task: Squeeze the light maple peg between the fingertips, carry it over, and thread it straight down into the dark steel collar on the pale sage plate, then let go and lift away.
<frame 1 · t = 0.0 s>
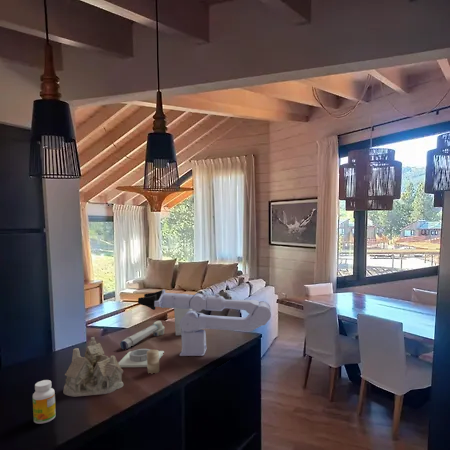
hand: (141, 298, 148), 22 cm above the kitchen island, tool horizontal, fingers open, 7 cm apart
supplement box: (184, 333, 174), on the kitchen island
supplement bottle: (44, 419, 101), on the kitchen island
white handheld device: (144, 341, 165), on the kitchen island
maple peg: (153, 371, 130), on the kitchen island
collar plate: (141, 359, 142), on the kitchen island
ceramic cottage: (93, 388, 119), on the kitchen island
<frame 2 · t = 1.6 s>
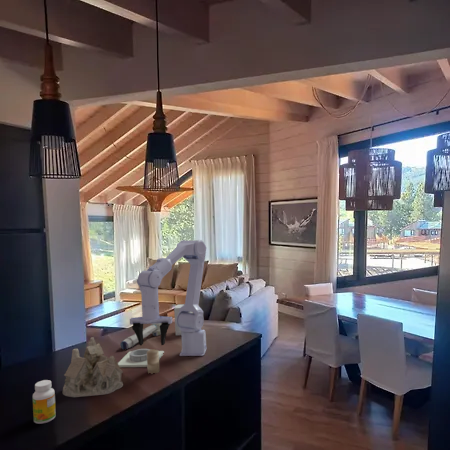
hand: (152, 344, 130), 9 cm above the kitchen island, tool pointing down, fingers open, 7 cm apart
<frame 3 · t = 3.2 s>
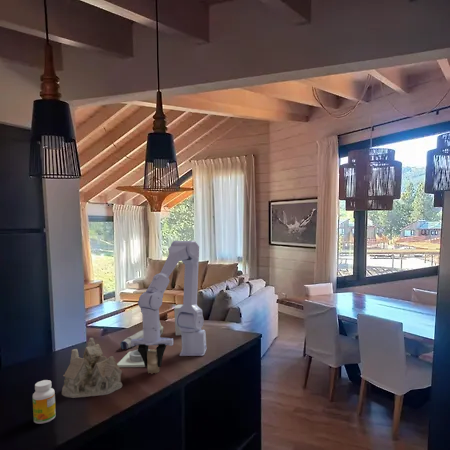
hand: (153, 365, 130), 2 cm above the kitchen island, tool pointing down, fingers closed on maple peg, 4 cm apart
maple peg: (153, 371, 130), on the kitchen island, touching gripper
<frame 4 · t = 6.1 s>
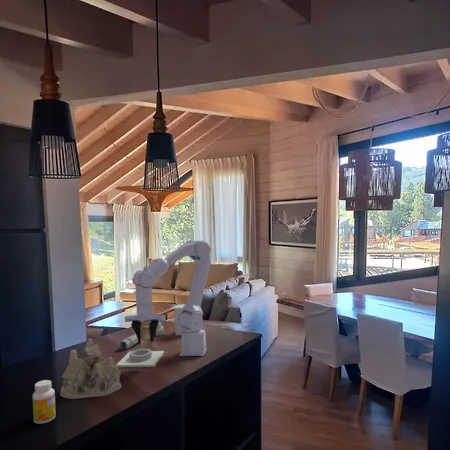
hand: (146, 341, 135), 9 cm above the kitchen island, tool pointing down, fingers closed on maple peg, 4 cm apart
maple peg: (146, 346, 135), point 7 cm above the kitchen island, touching gripper
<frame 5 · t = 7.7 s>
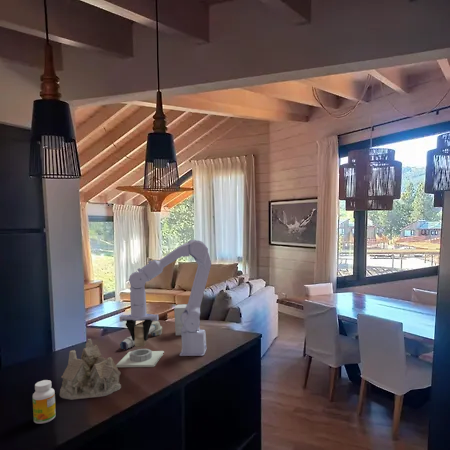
hand: (140, 339, 142), 8 cm above the kitchen island, tool pointing down, fingers closed on maple peg, 4 cm apart
maple peg: (140, 344, 142), point 6 cm above the kitchen island, touching gripper
when the fingers open (4 cm above the kitchen island, at t = 8.9 s): maple peg stays where it is, resting on collar plate.
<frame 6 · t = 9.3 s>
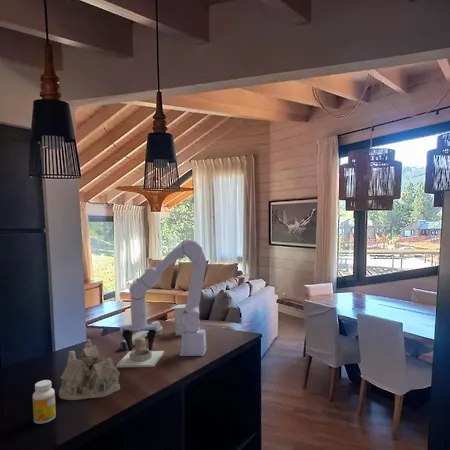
hand: (140, 350, 142), 4 cm above the kitchen island, tool pointing down, fingers open, 7 cm apart
maple peg: (140, 357, 142), point 1 cm above the kitchen island, touching collar plate
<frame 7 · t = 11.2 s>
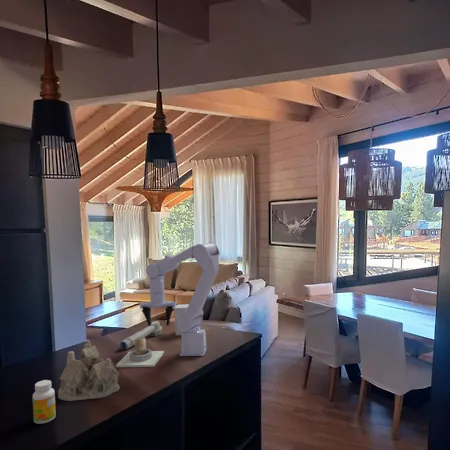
hand: (158, 325, 154), 9 cm above the kitchen island, tool pointing down, fingers open, 7 cm apart
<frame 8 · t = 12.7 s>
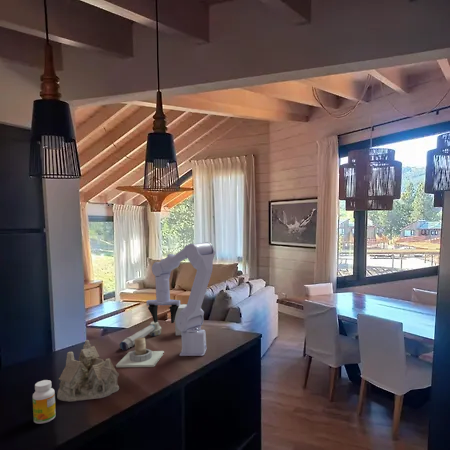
hand: (164, 322, 158), 9 cm above the kitchen island, tool pointing down, fingers open, 7 cm apart
at the end: maple peg 0.0 cm off-centre on the collar plate, point 0.8 cm above the collar plate's base; maple peg tilted 0°; the gripper is holding nothing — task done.
